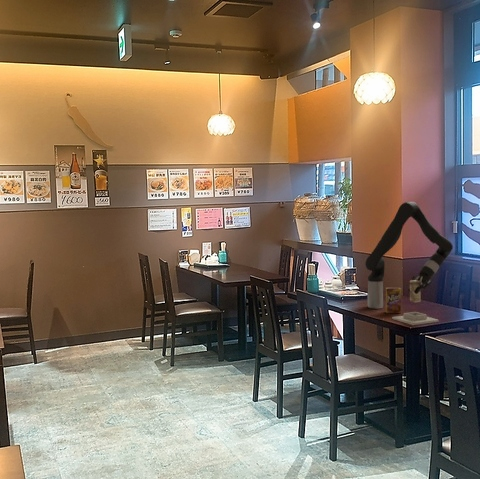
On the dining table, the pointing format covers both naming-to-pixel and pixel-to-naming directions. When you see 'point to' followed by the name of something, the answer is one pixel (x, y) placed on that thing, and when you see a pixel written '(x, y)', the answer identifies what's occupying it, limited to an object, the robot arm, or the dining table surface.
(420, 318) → the holder
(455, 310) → the dining table surface
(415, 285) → the beige capped cylinder
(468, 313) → the dining table surface
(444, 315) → the dining table surface
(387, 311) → the candy box
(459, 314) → the dining table surface
